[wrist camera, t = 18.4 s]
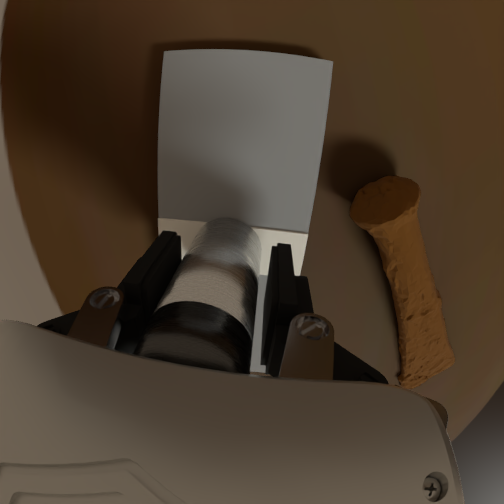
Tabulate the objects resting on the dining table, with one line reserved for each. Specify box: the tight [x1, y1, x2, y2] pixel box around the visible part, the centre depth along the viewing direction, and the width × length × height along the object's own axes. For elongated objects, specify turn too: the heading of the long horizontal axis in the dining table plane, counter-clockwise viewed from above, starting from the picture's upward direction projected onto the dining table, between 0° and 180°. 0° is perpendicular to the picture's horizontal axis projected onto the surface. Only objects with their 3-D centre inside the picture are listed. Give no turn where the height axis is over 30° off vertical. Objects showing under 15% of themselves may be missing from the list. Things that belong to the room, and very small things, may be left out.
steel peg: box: [133, 217, 262, 374], centre depth 10 cm, size 3×3×8 cm
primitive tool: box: [350, 176, 455, 389], centre depth 15 cm, size 19×6×4 cm, turn 35°
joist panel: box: [158, 49, 333, 372], centre depth 14 cm, size 18×7×1 cm, turn 175°
